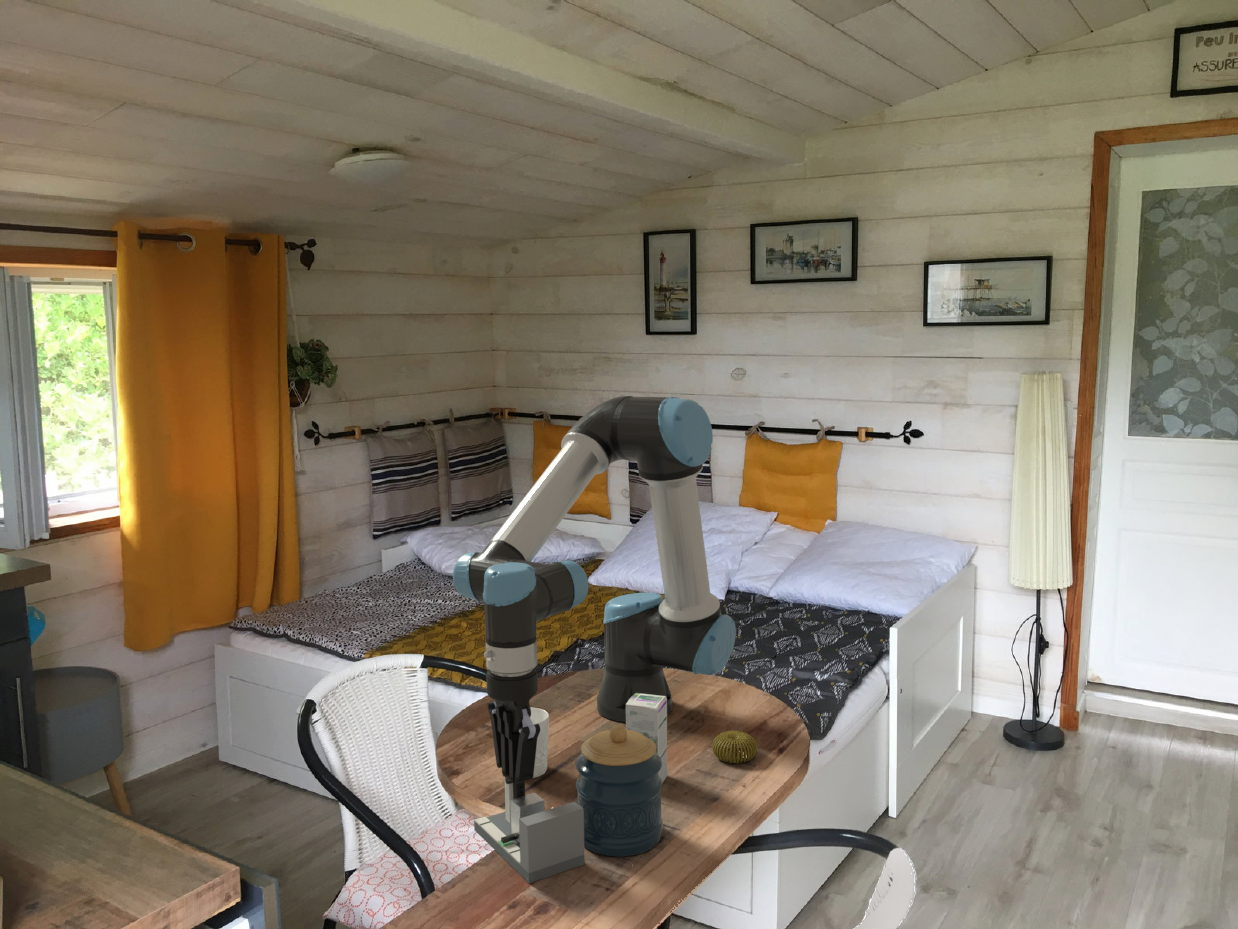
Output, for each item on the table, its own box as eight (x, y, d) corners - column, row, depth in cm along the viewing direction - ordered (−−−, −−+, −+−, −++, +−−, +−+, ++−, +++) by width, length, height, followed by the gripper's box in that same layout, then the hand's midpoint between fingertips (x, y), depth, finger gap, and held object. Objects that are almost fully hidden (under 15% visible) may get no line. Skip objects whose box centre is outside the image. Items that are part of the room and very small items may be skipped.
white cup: (543, 782, 173) (541, 726, 171) (498, 779, 174) (496, 723, 173) (555, 762, 180) (553, 708, 179) (512, 759, 182) (510, 706, 180)
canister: (559, 839, 154) (556, 727, 151) (616, 807, 163) (615, 702, 161) (623, 869, 145) (621, 751, 143) (680, 834, 155) (679, 723, 152)
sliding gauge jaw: (497, 840, 150) (496, 803, 149) (535, 828, 153) (534, 792, 153) (506, 849, 148) (505, 811, 147) (545, 836, 151) (544, 800, 150)
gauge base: (474, 830, 157) (472, 778, 155) (526, 814, 161) (525, 763, 160) (529, 883, 142) (527, 826, 140) (584, 864, 146) (583, 808, 145)
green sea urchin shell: (715, 746, 177) (708, 727, 185) (715, 768, 177) (708, 749, 185) (761, 744, 177) (752, 726, 185) (760, 766, 178) (752, 747, 186)
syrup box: (668, 775, 174) (667, 694, 172) (658, 790, 169) (657, 707, 167) (636, 771, 176) (635, 691, 174) (625, 786, 171) (624, 703, 169)
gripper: (470, 661, 154) (474, 808, 157) (508, 686, 143) (512, 844, 146) (514, 652, 158) (518, 795, 161) (555, 676, 147) (558, 829, 150)
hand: (515, 818), depth 154 cm, fingers closed
